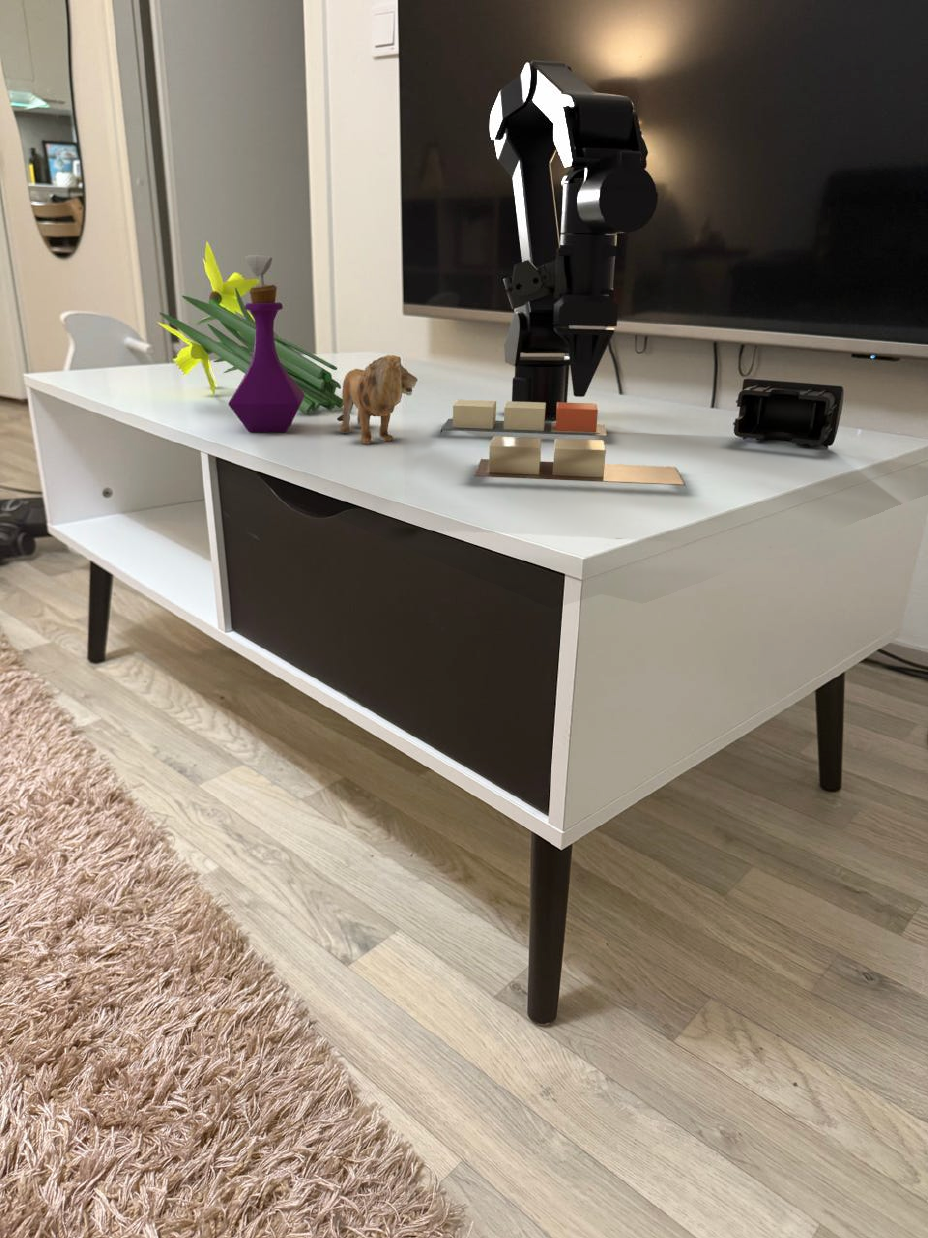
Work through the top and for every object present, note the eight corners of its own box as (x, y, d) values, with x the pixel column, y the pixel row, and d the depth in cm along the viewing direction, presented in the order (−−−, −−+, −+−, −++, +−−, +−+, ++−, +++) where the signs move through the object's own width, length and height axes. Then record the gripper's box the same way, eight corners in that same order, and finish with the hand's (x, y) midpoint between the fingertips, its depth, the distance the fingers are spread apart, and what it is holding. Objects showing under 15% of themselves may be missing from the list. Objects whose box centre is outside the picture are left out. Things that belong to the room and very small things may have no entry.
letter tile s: (555, 430, 98) (556, 408, 97) (555, 423, 102) (557, 401, 101) (596, 432, 98) (597, 409, 97) (595, 424, 102) (596, 403, 101)
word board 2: (473, 484, 78) (474, 447, 77) (480, 467, 85) (481, 432, 84) (684, 493, 77) (688, 456, 76) (675, 475, 83) (678, 440, 82)
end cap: (835, 447, 97) (846, 382, 95) (826, 458, 91) (837, 390, 89) (741, 437, 102) (749, 375, 99) (726, 447, 96) (735, 382, 93)
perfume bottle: (240, 422, 104) (228, 253, 97) (306, 422, 105) (298, 255, 98) (230, 434, 97) (216, 254, 90) (300, 435, 98) (292, 255, 91)
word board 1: (440, 436, 98) (440, 406, 97) (447, 425, 105) (448, 397, 104) (606, 443, 97) (609, 412, 96) (604, 431, 103) (606, 402, 102)
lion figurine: (422, 445, 94) (423, 355, 90) (377, 450, 91) (376, 358, 88) (357, 423, 105) (355, 342, 102) (315, 426, 102) (312, 344, 99)
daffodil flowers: (250, 429, 105) (107, 325, 123) (327, 473, 118) (186, 373, 136) (328, 303, 103) (171, 217, 122) (397, 362, 116) (246, 276, 134)
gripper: (514, 235, 102) (509, 377, 108) (504, 230, 85) (498, 400, 90) (614, 237, 101) (603, 380, 107) (624, 233, 84) (611, 404, 89)
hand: (578, 390), depth 98 cm, fingers open, 9 cm apart
